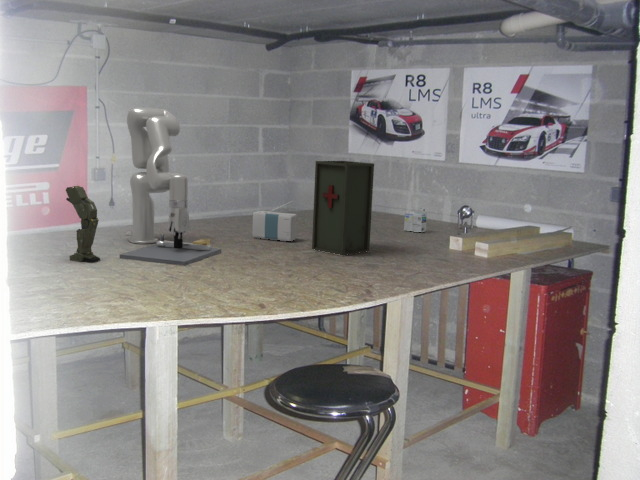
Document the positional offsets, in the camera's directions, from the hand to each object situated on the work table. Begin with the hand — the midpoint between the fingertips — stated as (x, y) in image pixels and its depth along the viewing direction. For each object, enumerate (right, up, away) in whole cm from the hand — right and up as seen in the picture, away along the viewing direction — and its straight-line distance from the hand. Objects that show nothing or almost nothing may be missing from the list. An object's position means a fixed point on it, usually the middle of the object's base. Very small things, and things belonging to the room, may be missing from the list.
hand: (178, 247), depth 284 cm
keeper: (+9, -1, +3) cm, 10 cm away
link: (+1, 0, +5) cm, 5 cm away
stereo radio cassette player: (+37, +3, +46) cm, 59 cm away
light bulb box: (+112, +7, +91) cm, 145 cm away
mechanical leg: (-33, -5, -20) cm, 39 cm away
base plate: (-2, -3, -3) cm, 4 cm away
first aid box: (+69, -2, +24) cm, 73 cm away
